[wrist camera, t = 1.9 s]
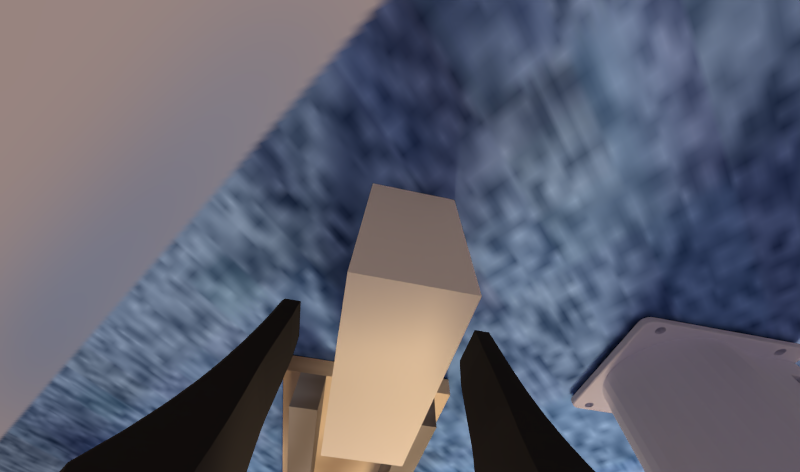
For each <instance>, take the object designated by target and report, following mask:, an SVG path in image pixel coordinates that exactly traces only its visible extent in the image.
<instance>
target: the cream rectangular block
mask: <svg viewBox="0 0 800 472" xmlns="http://www.w3.org/2000/svg"><path fill="white" fill-rule="evenodd" d="M480 299H481V292H480V289H479V285H478V282H477V278H476V275H475V271H474V267H473V264H472V260H471V257H470V253H469V250H468V246H467V243H466V239H465V236H464V232H463V229H462V225H461V222H460V218H459V215H458V211H457V207H456V204H455V200H452V199H447V198H442V197H437V196H432V195H427V194H423V193H418V192H413V191H408V190H403V189H398V188H393V187H388V186H383V185H379V184H374V183H373V185H372V188H371V192H370V195H369V199H368V202H367V206H366V209H365V213H364V216H363V220H362V223H361V227H360V230H359V234H358V237H357V241H356V244H355V247H354V251H353V254H352V258H351V261H350V265H349V268H348V272H347V279H346V286H345V292H344V299H343V306H342V313H341V320H340V327H339V333H338V340H337V347H336V354H335V361H334V368H333V374H332V381H331V388H330V395H329V402H328V409H327V415H326V422H325V429H324V436H323V443H322V450H321V456H327V457H335V458H342V459H350V460H358V461H365V462H373V463H380V464H388V465H396V466H403V464H404V462H405V459H406V457H407V455H408V453H409V451H410V449H411V447H412V444H413V442H414V440H415V438H416V436H417V434H418V432H419V429H420V427H421V425H422V423H423V421H424V419H425V416H426V414H427V412H428V410H429V408H430V406H431V404H432V401H433V399H434V397H435V395H436V393H437V391H438V389H439V386H440V384H441V382H442V380H443V378H444V376H445V374H446V371H447V369H448V367H449V365H450V363H451V361H452V359H453V356H454V354H455V352H456V350H457V348H458V346H459V344H460V341H461V339H462V337H463V335H464V333H465V331H466V329H467V326H468V324H469V322H470V320H471V318H472V316H473V314H474V311H475V309H476V307H477V305H478V303H479V301H480Z"/></svg>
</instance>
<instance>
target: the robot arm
mask: <svg viewBox="0 0 800 472" xmlns="http://www.w3.org/2000/svg"><path fill="white" fill-rule="evenodd" d="M300 303H301V301H296V300H290V299H284V300H282V301H281V302H280V304H279V305H278V306H277V307H276V308H275V309H274V310H273V312H272V313H271V314H270V315H269V316H268V317H267V318H266V319H265V320H264V321H263V322H262V323H261V324H260V325H259V326H258V327H257V328H256V329H255V330H254V331H253V332H252V333H251V334H250V335H249V336H248V337H247V338H246V339H245V340H244V341H243V342H242V343H241V344H240V345H239V346H238V347H236V348H235V349H234V350H233V351H232V352H231V353H230V354H229V355H228V356H226V357H225V358H224V359H223V360H222V361H221V362H219V363H218V364H217V365H216V366H215V367H213V368H212V369H211V370H210V371H209V372H207V373H206V374H205V375H203V376H202V377H201V378H200V379H198V380H197V381H196V382H194V383H193V384H192V385H190V386H189V387H188V388H186V389H185V390H183V391H182V392H181V393H179V394H178V395H177V396H175V397H174V398H172V399H171V400H169V401H168V402H167V403H165V404H164V405H162V406H161V407H159V408H158V409H156V410H154V411H153V412H151V413H150V414H148V415H147V416H145V417H144V418H142V419H140V420H139V421H137V422H136V423H134V424H133V425H131V426H130V427H128V428H126V429H125V430H123V431H121V432H120V433H118V434H117V435H115V436H113V437H111V438H110V439H108V440H106V441H104V442H103V443H101V444H99V445H97V446H96V447H94V448H92V449H90V450H89V451H87V452H85V453H84V454H82V455H80V456H78V457H77V458H75V459H73V460H71V461H70V462H68V463H67V464H66V465H65V466H64V467H63V468H62V470H61V471H60V472H247V469H248V466H249V463H250V460H251V457H252V454H253V451H254V448H255V445H256V442H257V440H258V437H259V434H260V431H261V428H262V426H263V423H264V421H265V418H266V416H267V414H268V411H269V409H270V407H271V405H272V402H273V400H274V398H275V396H276V393H277V391H278V389H279V387H280V384H281V382H282V380H283V378H284V375H285V373H286V371H287V369H288V366H289V364H290V362H291V359H292V356H293V353H294V350H295V347H296V344H297V340H298V337H299V325H300ZM798 360H800V344H797V343H791V342H786V341H780V340H775V339H770V338H764V337H759V336H753V335H748V334H742V333H737V332H731V331H726V330H720V329H715V328H709V327H704V326H698V325H693V324H687V323H682V322H677V321H671V320H666V319H660V318H655V317H646V318H643V319H641V320H640V321H639V322H638V323H637V324H636V325H635V326H634V327H633V328H632V330H631V331H630V332H629V333H628V334H627V335H626V336H625V338H624V339H623V340H622V341H621V342H620V343H619V344H618V345H617V347H616V348H615V349H614V350H613V351H612V352H611V353H610V355H609V356H608V357H607V358H606V359H605V360H604V361H603V362H602V364H601V365H600V366H599V367H598V368H597V369H596V370H595V372H594V373H593V374H592V375H591V376H590V377H589V378H588V379H587V381H586V382H585V383H584V384H583V385H582V386H581V387H580V389H579V390H578V391H577V392H576V393H575V394H574V395H573V396H572V398H571V401H572V403H573V405H574V406H575V407H577V408H583V409H589V410H596V411H602V412H609V413H613V415H614V416H615V418H616V420H617V422H618V424H619V426H620V427H621V429H622V431H623V433H624V435H625V436H626V438H627V440H628V442H629V444H630V445H631V447H632V449H633V451H634V453H635V454H636V456H637V458H638V460H639V462H640V463H641V465H642V467H643V469H644V471H645V472H800V367H799V366H798V365H796V364H795V363H796V362H797V361H798ZM460 374H461V387H462V393H463V399H464V405H465V410H466V416H467V422H468V427H469V433H470V438H471V444H472V451H473V458H474V469H475V472H595V471H594V470H593V469H592V468H591V467H590V466H589V465H588V464H587V463H586V462H585V461H584V460H583V459H582V457H581V456H580V455H579V454H578V453H577V452H576V451H575V450H574V449H573V448H572V447H571V446H570V444H569V443H568V442H567V441H566V440H565V439H564V438H563V436H562V435H561V434H560V433H559V432H558V431H557V429H556V428H555V427H554V426H553V425H552V423H551V422H550V421H549V420H548V418H547V417H546V416H545V415H544V413H543V412H542V411H541V410H540V408H539V407H538V406H537V404H536V403H535V402H534V400H533V399H532V397H531V396H530V395H529V393H528V392H527V391H526V389H525V388H524V386H523V385H522V383H521V382H520V380H519V379H518V377H517V376H516V374H515V373H514V371H513V370H512V368H511V367H510V365H509V364H508V362H507V360H506V359H505V357H504V356H503V354H502V353H501V351H500V349H499V348H498V346H497V345H496V343H495V341H494V340H493V338H492V337H491V335H490V333H489V332H483V331H477V330H475V331H474V333H473V335H472V337H471V339H470V341H469V343H468V345H467V347H466V349H465V351H464V354H463V356H462V358H461V360H460Z"/></svg>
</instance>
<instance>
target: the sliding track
mask: <svg viewBox="0 0 800 472" xmlns="http://www.w3.org/2000/svg"><path fill="white" fill-rule="evenodd" d="M333 368H334V362H333V361H326V360H320V359H313V358H307V357H301V356H294V355H293V356H292V359H291V362H290V364H289V366H288V369H287V371H286V373H285V375H284V378H283V472H413V471H414V469H415V468H416V466H417V464H418V462H419V460H420V458H421V456H422V454H423V452H424V450H425V448H426V446H427V444H428V442H429V441H430V439H431V437H432V435H433V433H434V431H435V429H436V421H437V419H438V417H439V415H440V413H441V412H442V410H443V408H444V406H445V404H446V402H447V400H448V398H449V396H450V390H449V381H448V379H443V380H442V382H441V384H440V386H439V389H438V391H437V393H436V395H435V397H434V399H433V401H432V404H431V406H430V408H429V410H428V412H427V414H426V416H425V419H424V421H423V423H422V425H421V427H420V429H419V432H418V434H417V436H416V438H415V440H414V442H413V444H412V447H411V449H410V451H409V453H408V455H407V457H406V459H405V462H404V464H403V466H396V465H388V464H380V463H373V462H365V461H358V460H350V459H342V458H335V457H327V456H321V450H322V443H323V436H324V429H325V422H326V415H327V409H328V402H329V395H330V388H331V381H332V374H333Z"/></svg>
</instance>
